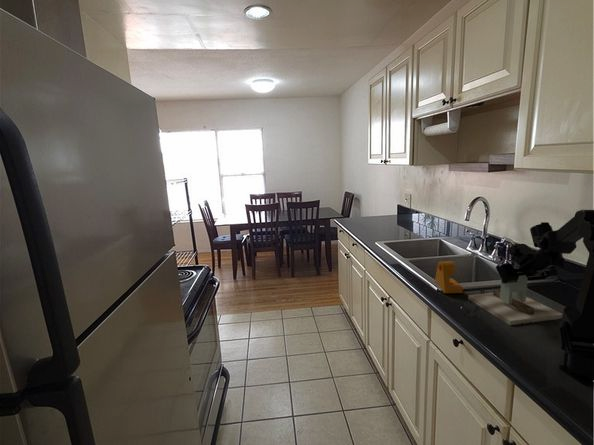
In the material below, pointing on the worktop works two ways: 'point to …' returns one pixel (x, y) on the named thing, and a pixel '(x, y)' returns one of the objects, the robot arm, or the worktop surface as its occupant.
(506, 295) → the grey-green notched block
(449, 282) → the bracket
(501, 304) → the cleat board
